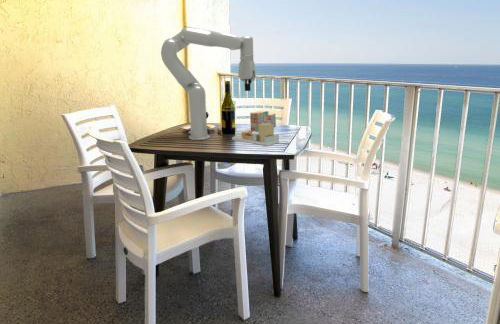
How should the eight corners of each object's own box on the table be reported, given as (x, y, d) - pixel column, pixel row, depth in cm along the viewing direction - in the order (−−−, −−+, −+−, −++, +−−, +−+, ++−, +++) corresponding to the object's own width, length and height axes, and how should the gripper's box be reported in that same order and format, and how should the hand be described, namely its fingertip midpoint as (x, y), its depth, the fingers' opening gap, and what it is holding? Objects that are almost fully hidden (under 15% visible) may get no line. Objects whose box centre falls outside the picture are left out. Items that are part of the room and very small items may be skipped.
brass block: (258, 140, 207) (258, 124, 204) (266, 138, 211) (266, 123, 209) (265, 142, 203) (265, 125, 201) (273, 139, 208) (273, 123, 206)
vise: (232, 139, 219) (231, 132, 218) (244, 137, 226) (244, 129, 225) (267, 145, 201) (267, 137, 200) (279, 142, 208) (278, 134, 207)
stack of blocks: (268, 126, 262) (268, 108, 258) (275, 127, 258) (275, 109, 255) (250, 131, 245) (250, 112, 242) (258, 132, 241) (258, 113, 238)
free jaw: (239, 137, 214) (239, 132, 213) (251, 135, 221) (251, 130, 220) (256, 140, 205) (256, 135, 205) (268, 137, 212) (268, 132, 212)
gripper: (233, 59, 221) (234, 90, 225) (251, 58, 211) (252, 91, 215) (242, 59, 226) (243, 89, 231) (260, 58, 216) (261, 90, 221)
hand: (247, 90), depth 223 cm, fingers closed
